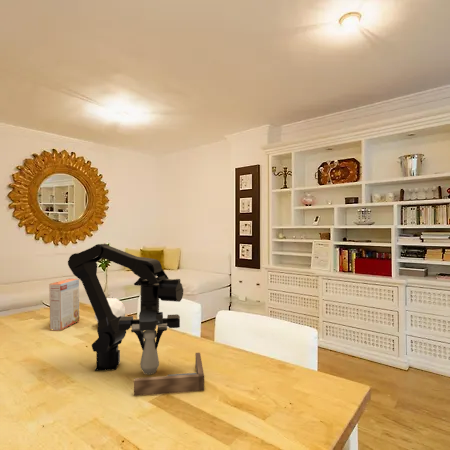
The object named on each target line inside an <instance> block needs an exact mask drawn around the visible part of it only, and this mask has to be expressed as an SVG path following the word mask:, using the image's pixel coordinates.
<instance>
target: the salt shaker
mask: <svg viewBox="0 0 450 450" xmlns="http://www.w3.org/2000/svg"><path fill="white" fill-rule="evenodd" d="M156 336H157V330H156V329H155V330H144V331H143V338H144V350H142V354H141V358H140V369H141V371H142V372H143V374H144V375H153V374H156V372H157V370H158V369H159V366H160V361H159V355H158V354H159V353H158V349H157V350H156V349H155V344H156Z"/></svg>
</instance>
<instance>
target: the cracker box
mask: <svg viewBox="0 0 450 450" xmlns="http://www.w3.org/2000/svg"><path fill="white" fill-rule="evenodd" d="M48 285H49V287H48V288H49V330H50V329H53V330H52V331H58V330H62V329H63V330H65V329H67V328H69V327H71V326H73V325H75V324H77V323H79V322H80V279H79V278H68V279H67V278H66V279H63V280H58V281H56V282H52V283H49V284H48ZM78 321H79V322H78ZM76 322H77V323H76ZM74 323H75V324H74ZM72 324H73V325H72ZM70 325H71V326H70ZM68 326H69V327H68ZM66 327H67V328H66ZM64 328H65V329H64ZM63 330H62V331H63Z"/></svg>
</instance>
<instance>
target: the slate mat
mask: <svg viewBox="0 0 450 450" xmlns="http://www.w3.org/2000/svg"><path fill="white" fill-rule="evenodd" d="M191 374H197V373H196V372H188V373H186V372H185V373H172V374H167V375H166V376H176V375H191Z"/></svg>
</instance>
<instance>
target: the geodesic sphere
mask: <svg viewBox="0 0 450 450" xmlns="http://www.w3.org/2000/svg"><path fill="white" fill-rule="evenodd" d="M106 299H107V301H108V303H109V306H110V308H111V310H112V313H113V314H114V315H115V316H116V317H120V316H121V317H125V316H126V310H127V309H126V307H125V304H124V303H123V302H122V301H121V300H120V299H118V298H116V297H115V298H114V297H113V296H112V297H107V296H106ZM94 319H95V320H96V322H97V323H98V319H97V317H96V315H95V314H94Z"/></svg>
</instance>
